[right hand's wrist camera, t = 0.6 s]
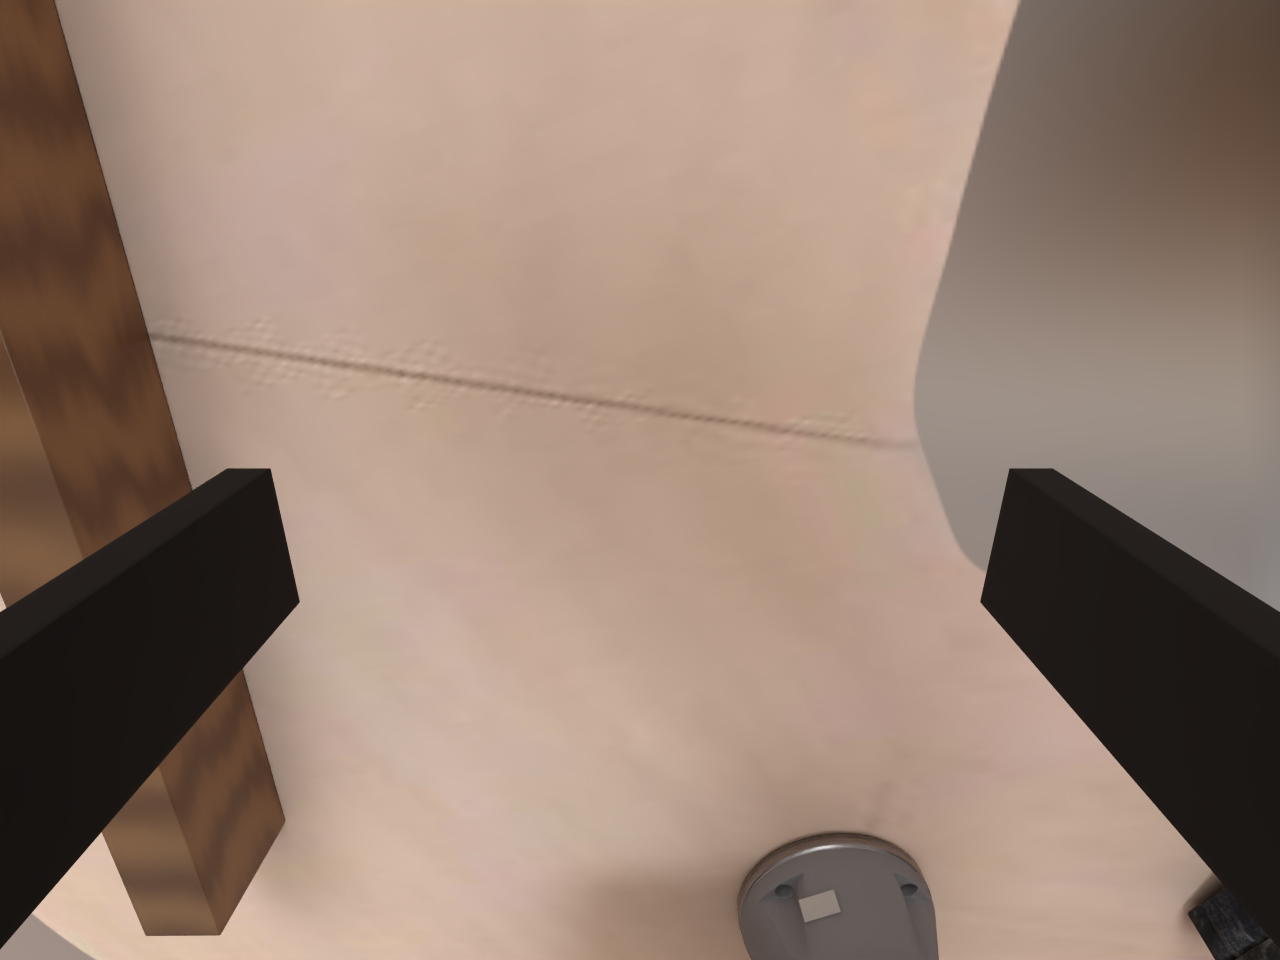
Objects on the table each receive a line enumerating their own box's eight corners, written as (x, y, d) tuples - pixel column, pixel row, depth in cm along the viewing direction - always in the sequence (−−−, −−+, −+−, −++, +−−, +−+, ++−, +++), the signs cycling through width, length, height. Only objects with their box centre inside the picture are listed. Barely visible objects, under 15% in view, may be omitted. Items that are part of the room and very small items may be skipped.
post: (285, 822, 52) (220, 936, 44) (222, 822, 52) (145, 936, 44) (-124, -633, 25) (-497, -1040, 17) (-258, -630, 25) (-695, -1038, 17)
